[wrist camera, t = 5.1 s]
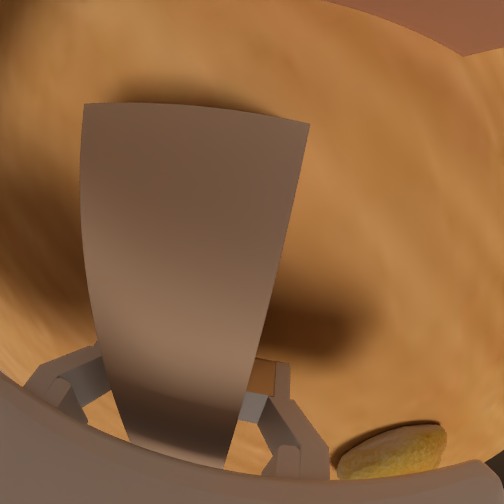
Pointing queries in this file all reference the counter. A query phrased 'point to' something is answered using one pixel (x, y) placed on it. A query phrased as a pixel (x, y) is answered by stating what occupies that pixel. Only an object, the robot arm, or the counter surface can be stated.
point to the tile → (444, 20)
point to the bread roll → (395, 453)
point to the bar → (183, 260)
